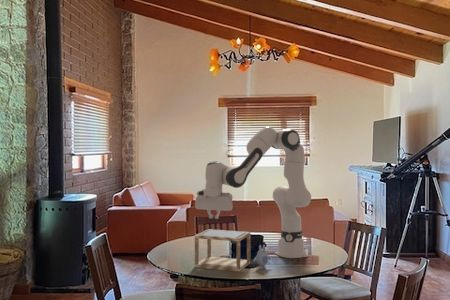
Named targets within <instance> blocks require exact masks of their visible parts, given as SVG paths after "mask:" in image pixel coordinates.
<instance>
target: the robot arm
mask: <svg viewBox="0 0 450 300" xmlns="http://www.w3.org/2000/svg"><path fill="white" fill-rule="evenodd" d="M300 139H301V138H300V135H299V133H298V132H297V131H296V130H294V129H291V128H287V129H286V128H284V129H279V130H275V129H274V128H273V127H271V126H265V127H263V128H261V129H260V130H259V131H258V132H256V133H255V134H254V136H252V137H251V138H250V139H249V141H248V142H247V144H246V151H247V154H248V155H247V156H246V157H245V159H244V160H243V161H242V162H241V164H240V165H239V166H237V167H231V166H228V165H225V164H224V163H223V162H221V161H219V160H218V161H217V160H216V161H211V162H208V163H207V164H206V165H205V176H204V177H205V188H203V189H201V190H198V191H197V192H196V195H197V196H196V198H195V202H194V203H195V204H194V206H195V209H196V210H206V211H207V212H206V213H207V214H208V219H214V220H215V219H216V220H218V219H219V217H220V216H219V215H220V213H221V212H222V211H225V212H230V211H232V210H233V194H231V193H230V192H223V185H225V186H229V187H232V188H235V189H238V188H241V187H242V186H244V184H245V183H246V180H247V179H248V177H249V174H250V173H251V172H252V171H253V169H254V168H255V167H256V166H257V165H258V163H259V162H260V160H261V159H262V157H263V156H264V155H265V154H266V153H267V151H269V150H270V148H273V149H276V150H283V152H284V154H285V156H284V165H283V177H284V178H285V179H286V180H287V183H288V185H287V186H286V185H280V186H277V187H276V188H274V189H273V191H272V199H273V201H274V202H275V203H276V205H277V206H278V209H279V212H280V216H281V230H280V238H279V239H278V240H277V241H278V242H277V243H278V244H277V251H275V253H274V254H275V255H277V256H278V257H282V258H287V259H299V258H308V257H309V249H308V248H306V247H305V241H304V239H303V229H302V216H301V215H300V214H299V212H298V211H297V209H296V208H305V207H308V206H309V205H310V203H311V201H312V195H311V192H310V191H309V189H308V188H307V186H306V184H305V178H304V171H305V148H304V146H303V145H302V144H301V140H300ZM212 211H216V215H214V214H212V213H211V212H212Z"/></svg>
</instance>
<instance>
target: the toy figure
mask: <svg viewBox="0 0 450 300" xmlns="http://www.w3.org/2000/svg"><path fill="white" fill-rule="evenodd" d="M258 249H259V250H258V251H257V253H256V256H255V257H254V258H253V261H252V262H253V263H255V262H256V263H257V264H258V265H259V266H258V269H259V270H262V269H266V268H267V266H265V265H267V263H268V262H269V260H270V261H271V259H272V257H271V256H270V255H269V254H268V253H267V251H266V245H265V244H263V245H261V244H259V246H258Z"/></svg>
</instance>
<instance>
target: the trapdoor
mask: <svg viewBox="0 0 450 300" xmlns="http://www.w3.org/2000/svg"><path fill="white" fill-rule="evenodd" d="M217 230H218V229H213V230H209V231H207V232H205V233H203V234H200V235H207V236H220V237H234V238H238V237H240V236H241V235H243V234H245V232H246V231H242V232H231V231H232V230H227V231H217ZM231 243H232V244H233V245H234V244H235V245H236V241H231Z"/></svg>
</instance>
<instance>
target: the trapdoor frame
mask: <svg viewBox="0 0 450 300" xmlns="http://www.w3.org/2000/svg"><path fill="white" fill-rule="evenodd" d="M209 230H214V229H213V228H212V229H210V228H208V229H206V230H203V231H201V232H199V233H197V234H194V268H200V269H208V270H220V271H227V270H228V271H229V272H237V271H238V272H239V273H240V272H241V271H242V270H244V269H246V267H247V266H249V265H250V264H251V231H244V232H245V234H243V235H241V236H240V237H238V238H234V237H220V236H207V235H200V234H203V233H205V232H207V231H209ZM216 230H217V231H228V229H227V230H223V229H216ZM230 231H231V232H243V230H241V231H240V230H239V231H238V230H230ZM199 239H200V240H201V239H202V240H206V241H207V243H206V244H207V245H206V247H207V248H206V249H207V250H206V253H207V254H206V256H207V257H205V258H203V259H202V260H199V255H200V254H199V250H200V249H199V248H200V247H199V245H200V244H199V241H200V240H199ZM244 239H246V259H244V258H243V259H242V258H241V241H242V240H244ZM213 240H215V241H216V240H217V241H228V242H232V241H236V243H235V246H236V252H235V253H236V257H235V258H230V257H229V258H228V257H217V256H212V241H213ZM228 271H227V272H228Z"/></svg>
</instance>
